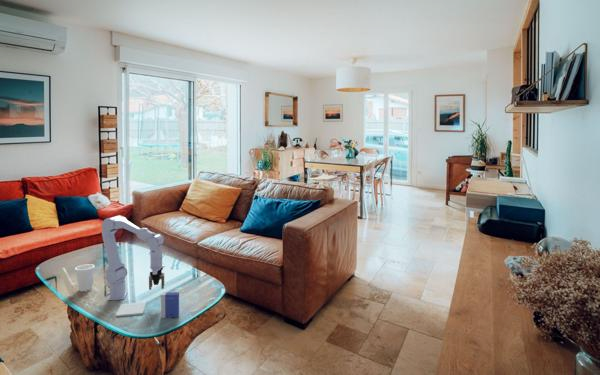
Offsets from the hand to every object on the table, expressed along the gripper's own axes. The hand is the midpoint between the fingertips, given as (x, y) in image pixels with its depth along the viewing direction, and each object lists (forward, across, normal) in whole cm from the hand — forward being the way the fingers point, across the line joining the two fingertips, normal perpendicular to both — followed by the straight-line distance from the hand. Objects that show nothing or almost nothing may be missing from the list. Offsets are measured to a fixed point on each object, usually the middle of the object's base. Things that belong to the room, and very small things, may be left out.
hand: (156, 282), depth 181 cm
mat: (+10, -7, +11) cm, 17 cm away
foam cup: (+11, +24, +40) cm, 48 cm away
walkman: (+11, -18, -8) cm, 22 cm away
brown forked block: (+3, 0, 0) cm, 3 cm away
